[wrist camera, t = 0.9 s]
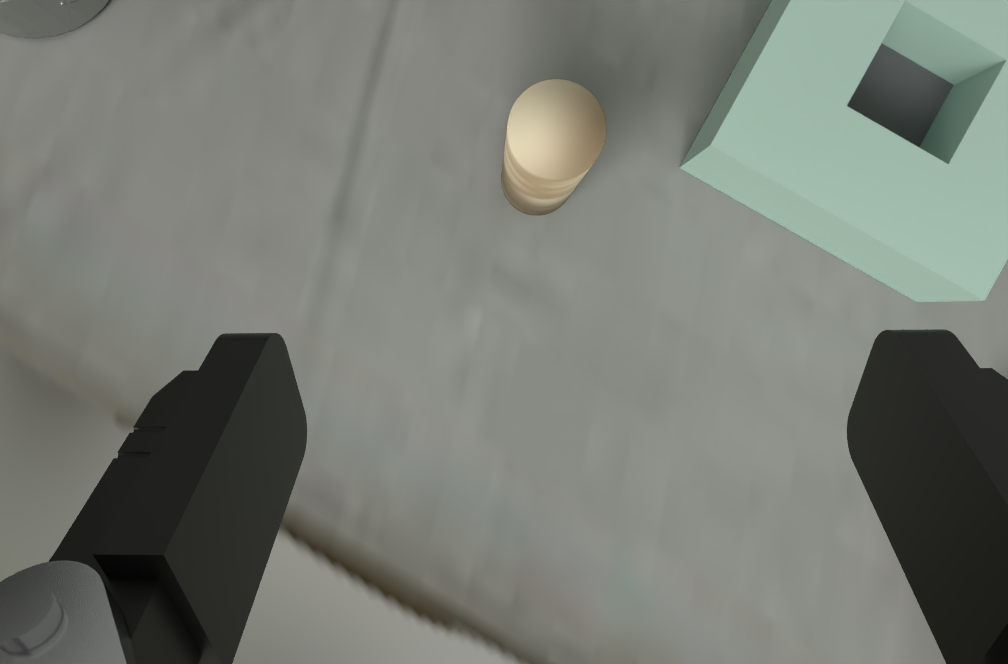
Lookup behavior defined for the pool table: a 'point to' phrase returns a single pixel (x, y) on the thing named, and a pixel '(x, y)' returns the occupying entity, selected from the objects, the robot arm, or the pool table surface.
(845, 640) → the pool table surface
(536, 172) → the pin
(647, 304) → the pool table surface
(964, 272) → the socket block
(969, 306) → the pool table surface
